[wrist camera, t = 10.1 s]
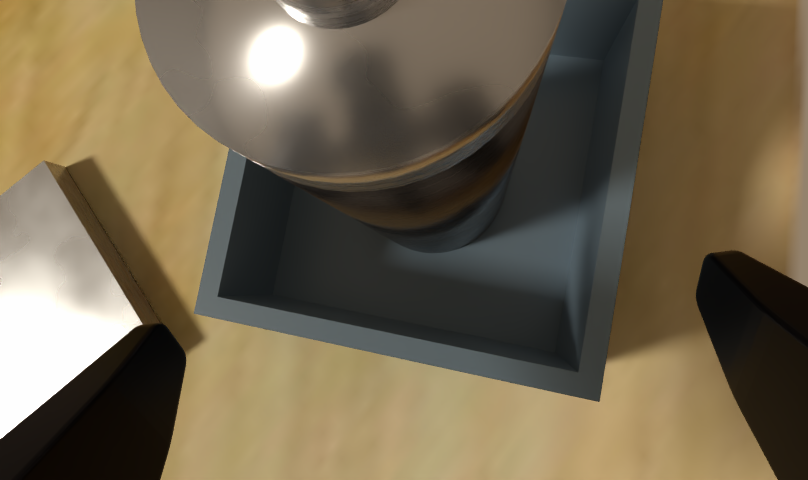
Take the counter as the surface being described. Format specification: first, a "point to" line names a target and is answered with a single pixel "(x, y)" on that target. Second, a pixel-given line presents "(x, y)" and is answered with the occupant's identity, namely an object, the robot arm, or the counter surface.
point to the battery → (365, 99)
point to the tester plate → (56, 291)
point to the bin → (479, 260)
